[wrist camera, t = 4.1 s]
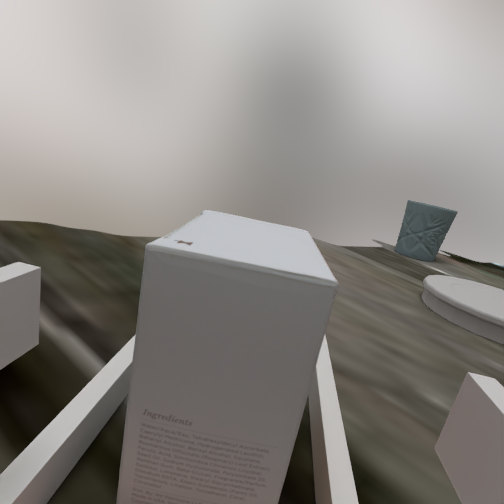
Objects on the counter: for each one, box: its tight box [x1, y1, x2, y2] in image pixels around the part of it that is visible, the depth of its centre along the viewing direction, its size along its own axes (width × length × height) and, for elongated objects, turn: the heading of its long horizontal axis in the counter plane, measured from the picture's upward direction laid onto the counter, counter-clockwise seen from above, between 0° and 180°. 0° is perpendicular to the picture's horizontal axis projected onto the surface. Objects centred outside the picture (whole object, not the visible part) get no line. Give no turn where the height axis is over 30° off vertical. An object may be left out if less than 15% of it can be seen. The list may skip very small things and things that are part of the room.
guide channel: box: [0, 335, 358, 504], centre depth 15 cm, size 12×23×2 cm, turn 173°
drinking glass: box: [395, 200, 457, 262], centre depth 74 cm, size 10×10×12 cm
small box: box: [116, 210, 339, 504], centre depth 14 cm, size 8×6×10 cm
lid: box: [422, 275, 504, 345], centre depth 43 cm, size 17×20×3 cm
